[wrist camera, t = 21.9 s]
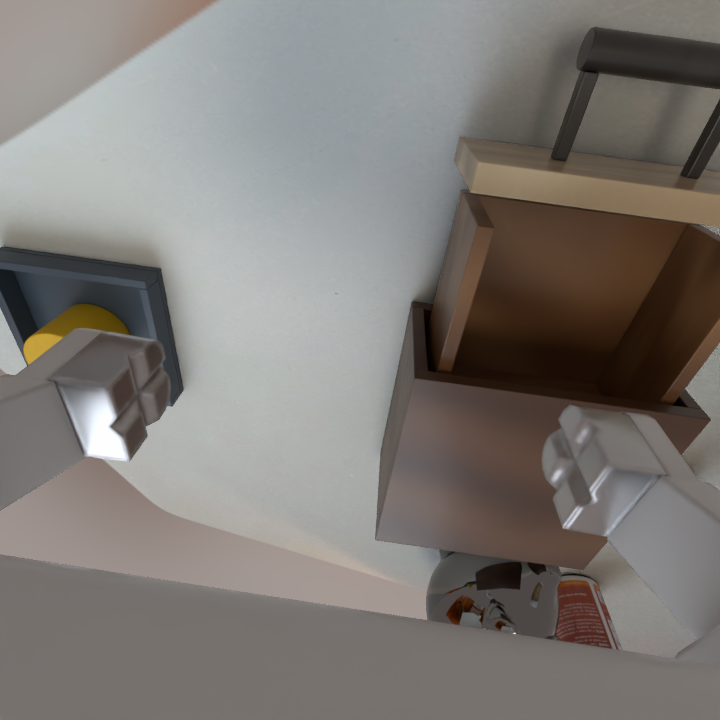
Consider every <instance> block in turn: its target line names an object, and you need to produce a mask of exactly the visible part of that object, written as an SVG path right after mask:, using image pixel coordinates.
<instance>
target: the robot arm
mask: <svg viewBox="0 0 720 720" xmlns="http://www.w3.org/2000/svg"><path fill="white" fill-rule="evenodd" d="M165 359H166V357H165V352H164V348H163V344H161V343H160V342H159V341H158V340H154V339H148V338H143V337H137V336H131V335H126V334H120V333H114V332H106V331H102V330H96V329H90V328H77V329H74V330H73V331H71V332H70V333H69V334H68V335H66V336H65V337H64V338H62V339H61V340H60V341H59V342H57V343H56V344H55V345H54V346H52V347H51V348H50V349H48V350H47V351H46V352H45V353H43V354H42V355H41V356H39V357H38V358H37V359H36V360H34V361H33V362H32V363H31V364H29V365H28V366H27V367H25V368H24V369H23V370H22V371H20V372H19V373H18V374H16V375H9V374H6V375H3V376H0V511H1V510H2V509H4V508H5V507H7V506H9V505H10V504H12V503H13V502H15V501H17V500H18V499H20V498H21V497H23V496H24V495H26V494H28V493H29V492H31V491H33V490H34V489H36V488H37V487H39V486H41V485H42V484H44V483H46V482H47V481H49V480H50V479H52V478H54V477H55V476H57V475H58V474H60V473H62V472H63V471H65V470H66V469H68V468H70V467H71V466H73V465H75V464H76V463H78V462H79V461H81V460H83V459H84V456H89V457H96V458H104V459H112V460H120V461H128V462H130V460H131V459H132V458H133V456H134V455H135V453H136V452H137V450H138V449H139V448H140V446H141V445H142V443H143V442H144V440H145V439H146V438H147V436H148V435H147V431H146V426H148V425H150V424H152V423H154V422H156V421H158V420H159V419H160V417H161V416H162V414H163V413H164V411H165V410H166V407H167V404H168V401H169V398H170V390H171V384H170V378H169V375H168V374H167V373H166V372H165V371H164V370H163V368H162V367H161V366H160V365H161V364H162V362H163V361H164V360H165ZM558 420H559V423H560V426H561V428H560V429H559V430H557V431H555V432H553V433H551V434H550V435H549V436H548V438H547V440H546V442H545V444H544V446H543V452H542V459H541V460H542V469H543V472H544V475H545V479H546V480H547V481H548V482H549V483H550V484H551V485H552V486H553V487H554V488H555V489H556V490H557V491H556V493H555V495H554V496H553V498H552V499H553V502H554V505H555V508H556V511H557V513H558V516H559V519H560V522H561V525H562V528H563V529H567V530H572V531H578V532H583V533H589V534H594V535H600V536H605V537H608V538H607V540H608V541H609V542H610V543H611V544H612V546H613V547H614V548H615V549H616V550H617V551H618V552H619V554H620V555H621V556H622V557H623V558H624V559H625V560H626V562H627V563H628V564H629V565H630V566H631V567H632V568H633V570H634V571H635V572H636V573H637V574H638V575H639V576H640V578H641V579H642V580H643V581H644V582H645V583H646V584H647V586H648V587H649V588H650V589H651V590H652V591H653V592H654V594H655V595H656V596H657V597H658V598H659V599H660V600H661V602H662V603H663V604H664V605H665V606H666V607H667V608H668V610H669V611H670V612H671V613H672V614H673V615H674V616H675V618H676V619H677V620H678V621H679V622H680V623H681V624H682V626H683V627H684V628H685V629H686V630H687V631H688V632H689V634H690V635H691V636H692V637H693V638H694V639H695V640H696V641H695V642H693V643H692V644H690V645H689V646H687V647H686V648H684V649H683V650H681V651H680V652H678V654H677V655H676V657H675V658H668V657H662V656H655V655H649V654H642V653H636V652H629V651H623V650H616V649H610V648H603V647H597V646H590V645H584V644H577V643H571V642H564V641H558V640H551V639H545V638H539V637H532V636H526V635H519V634H513V633H506V632H500V631H493V630H487V629H480V628H474V627H467V626H461V625H455V624H448V623H442V622H435V621H429V620H422V619H416V618H409V617H402V616H396V615H390V614H383V613H377V612H370V611H364V610H357V609H350V608H344V607H338V606H331V605H325V604H318V603H312V602H305V601H298V600H292V599H285V598H279V597H272V596H266V595H260V594H253V593H247V592H240V591H233V590H227V589H220V588H213V587H207V586H201V585H194V584H188V583H181V582H175V581H168V580H161V579H154V578H149V577H142V576H136V575H129V574H123V573H116V572H109V571H103V570H97V569H90V568H84V567H77V566H71V565H64V564H58V563H51V562H45V561H38V560H32V559H25V558H19V557H12V556H5V555H0V720H720V491H719V490H718V489H716V488H715V487H714V486H712V485H711V484H709V483H705V482H700V481H699V480H698V478H697V477H696V475H695V474H694V473H693V471H692V470H691V469H690V467H689V466H688V464H687V463H686V462H685V460H684V459H683V457H682V456H681V455H680V453H679V452H678V450H677V449H676V448H675V446H674V445H673V443H672V442H671V441H670V439H669V438H668V437H667V435H666V434H665V432H664V431H663V430H662V428H661V427H660V425H659V424H658V423H657V421H656V420H655V419H653V418H652V417H650V416H649V415H645V414H637V413H629V412H616V411H609V410H602V409H596V408H589V407H582V406H576V405H569V406H568V407H566V408H565V409H564V410H563V412H562V413H561V415H560V417H559V418H558Z"/></svg>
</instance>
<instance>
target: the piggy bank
mask: <svg viewBox="0 0 720 720" xmlns="http://www.w3.org/2000/svg"><path fill="white" fill-rule="evenodd" d="M439 550H440V559H441V560H440V563H439V564H438V565H437V567H436V568H435V570H434V571H433V573H432V576H431V578H430V581H429V584H428V589H427V597H426V612H427V620H429V621H435V622H442V623H448V624H455V625H461V626H467V627H474V628H480V629H487V630H493V631H500V632H506V633H513V634H519V635H526V636H532V637H539V638H545V639H551V640H558V641H562V640H561V639H560V638H559V637H558V636H557V633H556V632H557V628H558V624H559V617H560V602H559V593H558V587H559V584H560V582H561V579H562V575H561V572H560V569H559V567H558V566H552V565H545V564H538V563H531V562H524V561H517V560H510V559H503V558H496V557H489V556H482V555H476V554H469V553H462V552H455V551H448V550H441V549H439Z"/></svg>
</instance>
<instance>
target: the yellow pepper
mask: <svg viewBox="0 0 720 720" xmlns="http://www.w3.org/2000/svg"><path fill="white" fill-rule="evenodd" d="M77 328H90V329H96V330H102V331H106V332H114V333H120V334H126V335H130V333H129V331H128V329H127V328H126V326H125V325H124V324H123V322H122V321H121V320H120V319H119V318H117V317H116V316H115V315H114V314H112V313H111V312H109V311H108V310H106V309H104V308H101V307H99V306H96V305H91V304H77V305H74V306H72V307H70V308H68V309H67V310H66V311H64V312H63V313H62V314H60V315H59V316H57V317H56V318H55V319H53V320H52V321H51V322H49V323H48V324H47V325H45V326H44V327H42V328H41V329H40V330H38V331H37V332H36V333H34V334H33V335H31V336H30V337H29V338H28V339H27V340H26V342H25V344H24V348H23V350H24V356H25V359H26V361H27V363H28V365H29V364H31V363H32V362H33V361H34V360H36V359H37V358H38V357H39V356H41V355H42V354H43V353H45V352H46V351H47V350H48V349H50V348H51V347H52V346H54V345H55V344H56V343H57V342H59V341H60V340H61V339H62V338H64V337H65V336H66V335H68V334H69V333H70V332H71V331H73V330H74V329H77Z"/></svg>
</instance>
